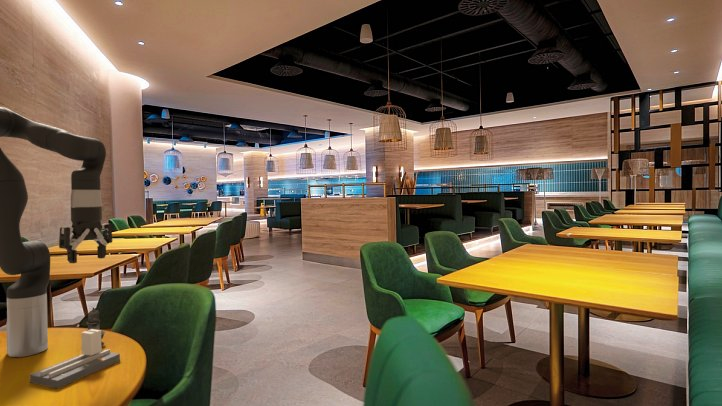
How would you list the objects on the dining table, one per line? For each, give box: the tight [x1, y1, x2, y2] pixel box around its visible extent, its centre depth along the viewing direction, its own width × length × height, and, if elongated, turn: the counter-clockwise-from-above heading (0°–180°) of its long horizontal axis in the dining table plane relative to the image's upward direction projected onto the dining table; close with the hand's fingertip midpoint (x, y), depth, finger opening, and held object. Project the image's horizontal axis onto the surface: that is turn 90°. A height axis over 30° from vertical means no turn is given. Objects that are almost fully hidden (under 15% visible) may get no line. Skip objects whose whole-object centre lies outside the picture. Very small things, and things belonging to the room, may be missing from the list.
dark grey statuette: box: [86, 306, 106, 347], centre depth 124 cm, size 6×6×12 cm
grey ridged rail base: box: [29, 347, 121, 390], centre depth 107 cm, size 10×17×3 cm, turn 161°
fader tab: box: [80, 329, 102, 358], centre depth 110 cm, size 4×3×7 cm
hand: (87, 260), depth 116 cm, fingers open, 8 cm apart
